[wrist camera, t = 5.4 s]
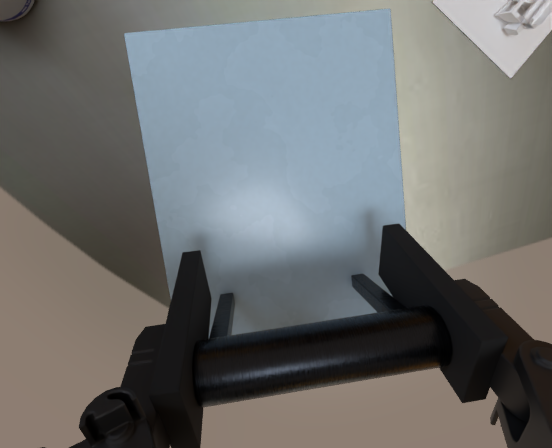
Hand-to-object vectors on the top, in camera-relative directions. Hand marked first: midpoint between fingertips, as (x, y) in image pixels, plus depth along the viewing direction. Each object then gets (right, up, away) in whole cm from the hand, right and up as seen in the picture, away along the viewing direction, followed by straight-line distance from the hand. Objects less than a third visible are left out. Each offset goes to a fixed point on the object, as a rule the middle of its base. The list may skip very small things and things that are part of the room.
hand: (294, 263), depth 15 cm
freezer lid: (-1, +4, +3) cm, 5 cm away
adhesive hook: (+17, +19, +10) cm, 28 cm away
